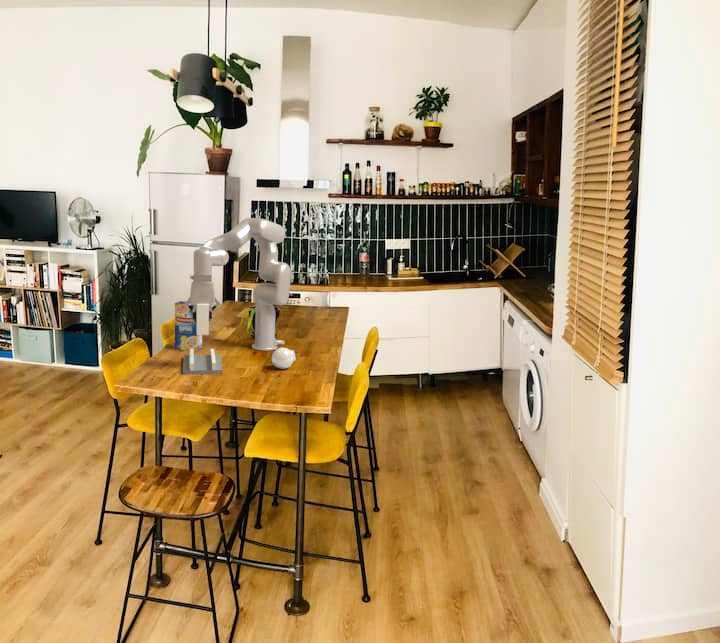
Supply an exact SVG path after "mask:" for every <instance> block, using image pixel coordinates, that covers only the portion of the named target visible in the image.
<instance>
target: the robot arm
mask: <svg viewBox="0 0 720 643" xmlns="http://www.w3.org/2000/svg"><path fill="white" fill-rule="evenodd" d="M252 238H253V239H254V240H255V242H256V243H257V245H258V248H259V263H258V265H259V266H258V276H259V278H260V279H261V280H264V281H269V282H275V284H274V283H267V282H261V283H258V284H257V285H256V286H254V289H253V300H254V306H255V308H254V309H255V321H254V322H255V323H254V324H255V325H254V326H255V327H254V334H255V335H254V343H253V344H251V348H252V349H253V350H256V351H266V352H268V351H275V350H277V349H278V348H279V345H285V340H282V339H276V309H275V307H274V305H275V306H284V305H286V304H287V302H288V300H289V299H290V298H289V296H290V290H291V280H292V278H291V277H292V271H291V267H290V265H289V264H288V263H286V262H283V261H282V262H281V261H279V260H278V259H279V250H278V247H277V246H278V245H277V244H280V243H282V242H283V241H284V239H285V238H286V230H285V229H284V227H283V226H282V225H281V224H278V223H276V222H273V221H270V220H268V219H265V218H258V217H257V218H256V217H246V218H244V219H243V220H241V221H240V222H239V223H237V224H236V225H235V226H233V228H232V229H231V230H230V231H228V232H226V233H223V234H221V235H218V236H216V237H212V238H211V239H209V240H208V241H206V242H205V243H203V244H202V245H201V246H200V247H199V249H194V251H193V274H192V275H190V276H189V279H190V280H193V281H191V285H190V291H189V292H190V296H189V297H188V299H187V300H185V305H186V306H187V307H189V309H191V310H192V312H193V319H195V321H196V307H197V304H209V322H211V320H212V319H213V312H214V310H216V309H217V308H218V307H219V306H220V305H221V303H220V301H219V300H218V299H217V298H216V296H215V292H216V291H215V284H214V282H213V280H212V273H213V272H212V268H213V267H223V266H225V265H227V263H228V262H229V259H230V256H229V253H228V251H235V250H237V249H240V248H242V247H243V246H244V245H245V244H246V243H247V242H248V241H250V240H251V239H252ZM189 302H190V303H191V305H193V307H192V306H191V305H190V304H189Z"/></svg>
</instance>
